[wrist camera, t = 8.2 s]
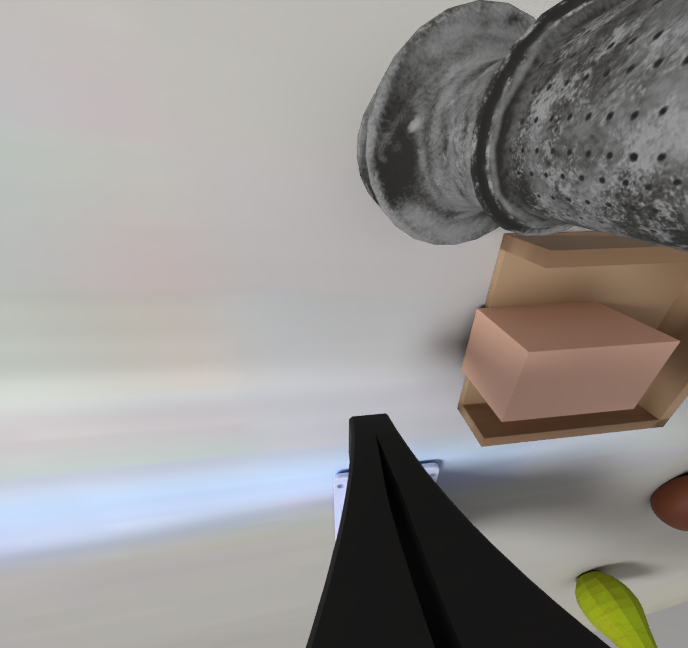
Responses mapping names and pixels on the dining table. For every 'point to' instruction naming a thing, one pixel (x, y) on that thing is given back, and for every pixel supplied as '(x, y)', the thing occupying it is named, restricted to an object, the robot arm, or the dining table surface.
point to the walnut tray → (591, 286)
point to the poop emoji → (672, 503)
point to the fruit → (613, 610)
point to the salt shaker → (535, 123)
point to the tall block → (562, 359)
